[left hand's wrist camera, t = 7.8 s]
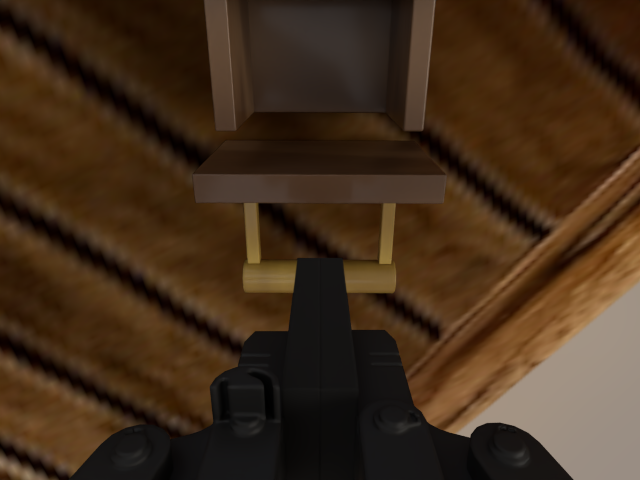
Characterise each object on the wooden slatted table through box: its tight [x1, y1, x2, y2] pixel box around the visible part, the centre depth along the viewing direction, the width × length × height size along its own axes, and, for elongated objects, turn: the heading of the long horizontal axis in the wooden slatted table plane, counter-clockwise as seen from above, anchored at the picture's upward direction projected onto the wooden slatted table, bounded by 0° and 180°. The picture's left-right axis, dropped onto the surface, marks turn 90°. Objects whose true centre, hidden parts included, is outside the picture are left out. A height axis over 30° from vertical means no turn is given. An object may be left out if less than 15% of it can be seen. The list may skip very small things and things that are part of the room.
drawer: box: [192, 0, 447, 293], centre depth 19 cm, size 21×10×7 cm, turn 0°
